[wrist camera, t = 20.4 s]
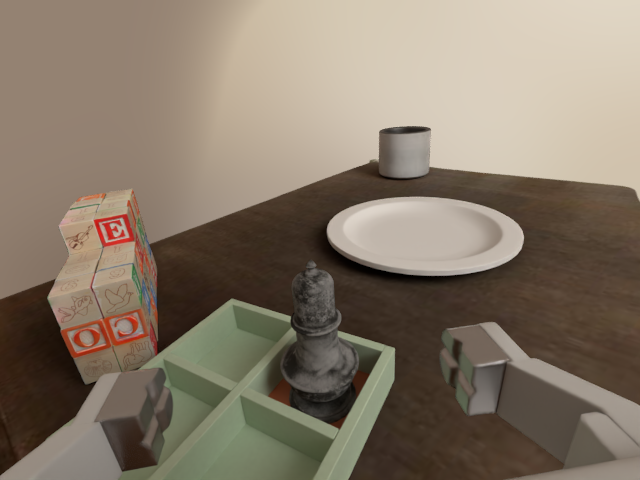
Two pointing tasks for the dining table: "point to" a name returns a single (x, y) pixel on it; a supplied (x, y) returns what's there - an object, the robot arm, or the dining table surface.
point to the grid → (256, 404)
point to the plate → (425, 236)
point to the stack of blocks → (106, 286)
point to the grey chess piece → (318, 351)
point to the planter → (404, 152)
